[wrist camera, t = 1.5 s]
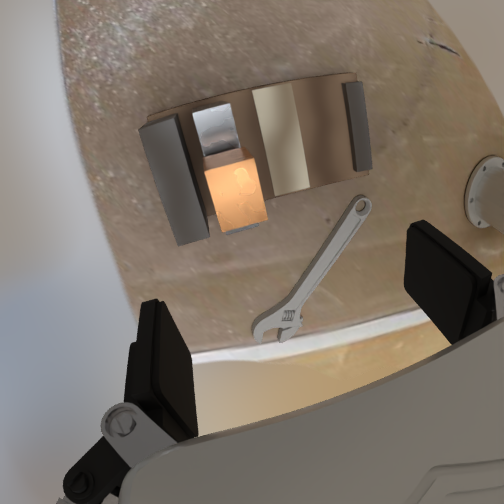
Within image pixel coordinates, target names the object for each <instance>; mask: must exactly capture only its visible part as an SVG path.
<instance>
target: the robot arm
mask: <svg viewBox="0 0 504 504" xmlns="http://www.w3.org/2000/svg"><path fill="white" fill-rule="evenodd" d="M465 211H466V215H467V218H468V219H469V221H470V222H471V223H472V224H473V225H475V226H476V227H478V228H486V227H489V226H492V227H494V228H495V229H497V230H498V231H499V232H501V233H502V234H504V159H502V158H500V157H498V156H489V157H487V158H485V159H483V160H482V161H481V162H480V163H479V164H478V165H477V167H476V168H475V170H474V171H473V173H472V175H471V177H470V179H469V182H468V185H467V189H466V193H465ZM491 276H492V273H491V272H490V271H489V270H488V269H487V268H486V267H484V266H483V265H482V264H481V263H480V262H478V261H477V260H476V259H475V258H474V257H472V256H471V255H470V254H469V253H467V252H466V251H465V250H464V249H462V248H461V247H460V246H459V245H457V244H456V243H455V242H453V241H452V240H451V239H450V238H448V237H447V236H446V235H444V234H443V233H442V232H440V231H439V230H438V229H436V228H435V227H434V226H432V225H431V224H430V223H428V222H427V221H425V220H420V221H417V222H414V223H412V224H410V227H409V228H408V229H407V240H406V259H405V274H404V287H405V290H406V291H407V293H408V294H409V295H410V296H411V297H412V298H413V300H414V301H415V302H416V303H417V304H418V305H419V306H420V308H421V309H422V310H423V311H424V312H425V313H426V315H427V316H428V317H429V318H430V319H431V320H432V322H433V323H434V324H435V325H436V326H437V328H438V329H439V330H440V331H441V332H442V334H443V335H444V336H445V337H446V339H447V340H448V341H449V342H450V343H451V344H452V345H451V346H449V347H447V348H445V349H443V350H441V351H440V352H438V353H436V354H434V355H432V356H430V357H428V358H426V359H423V360H421V361H419V362H417V363H415V364H413V365H411V366H409V367H407V368H404V369H402V370H400V371H398V372H396V373H393V374H391V375H389V376H387V377H384V378H382V379H380V380H377V381H375V382H372V383H370V384H367V385H366V386H363V387H360V388H358V389H355V390H353V391H350V392H347V393H344V394H342V395H339V396H336V397H334V398H331V399H328V400H325V401H322V402H320V403H317V404H314V405H311V406H308V407H305V408H302V409H298V410H296V411H292V412H289V413H286V414H282V415H279V416H276V417H272V418H268V419H265V420H261V421H258V422H255V423H251V424H247V425H243V426H239V427H236V428H232V429H227V430H223V431H219V432H215V433H211V434H208V435H204V436H200V437H198V424H197V414H196V404H195V393H194V381H193V368H192V358H191V354H190V351H189V349H188V347H187V346H186V344H185V342H184V340H183V338H182V336H181V334H180V332H179V330H178V328H177V326H176V324H175V322H174V320H173V318H172V316H171V314H170V312H169V310H168V308H167V306H166V304H165V302H164V301H161V302H159V300H158V299H153V300H149V301H146V302H142V304H141V309H140V316H139V324H138V332H137V340H136V342H133V343H131V345H130V349H129V357H128V365H127V375H126V383H125V394H124V403H119V404H117V405H114V406H113V407H111V408H110V409H109V410H108V411H107V412H106V413H105V415H104V416H103V418H102V421H101V432H102V434H103V435H104V436H103V437H102V438H101V439H100V440H99V441H98V442H97V443H96V444H95V445H94V446H93V447H92V448H91V449H90V450H89V451H88V452H87V453H86V454H85V455H84V456H83V457H82V458H81V459H80V460H79V461H78V462H77V463H76V464H75V465H74V466H73V467H72V468H71V469H70V470H69V471H68V472H67V474H66V475H65V477H64V480H63V489H64V493H65V496H64V498H63V499H61V498H59V499H58V501H57V503H56V504H504V274H502V275H499V276H497V277H496V278H495V280H494V281H493V280H492V279H491ZM194 437H196V438H194Z"/></svg>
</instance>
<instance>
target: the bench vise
mask: <svg viewBox="0 0 504 504" xmlns="http://www.w3.org/2000/svg"><path fill="white" fill-rule="evenodd" d="M219 101H226V102H228V103H230V106H231V110H232V114H233V118H234V122H235V126H236V130H237V134H238V139H239V143H240V147H245V148H246V149H247V150H248V151H249V152H250V154H251V155H252V156H253V157H254V159H255V164H256V168H257V173H258V177H259V182H260V186H261V191H262V195H263V200H264V201H265V200H268V199H272V198H276V197H280V196H284V195H287V194H291V193H295V192H299V191H303V190H307V189H311V188H315V187H319V186H323V185H327V184H331V183H336V182H340V181H344V180H348V179H352V178H357V177H361V176H365V175H369V170H370V169H372V157H371V147H370V137H369V128H368V120H367V112H366V105H365V98H364V91H363V84H362V82H359V81H357V75H356V73H340V74H331V75H323V76H316V77H309V78H302V79H296V80H290V81H284V82H278V83H273V84H267V85H262V86H257V87H252V88H248V89H243V90H239V91H234V92H230V93H226V94H222V95H218V96H214V97H210V98H206V99H202V100H199V101H195V102H192V103H188V104H185V105H181V106H178V107H175V108H171V109H168V110H165V111H162V112H159V113H156V114H153V115H150V116H148V117H147V120H148V122H147V123H146V124H145V125H144V126H142V127H141V128H140V129H139V130H138V131H139V134H140V137H141V140H142V143H143V147H144V150H145V153H146V156H147V159H148V162H149V165H150V168H151V171H152V174H153V177H154V180H155V183H156V186H157V189H158V192H159V195H160V198H161V200H162V203H163V206H164V209H165V212H166V215H167V217H168V220H169V223H170V226H171V228H172V231H173V234H174V237H175V239H176V242H177V245H178V246H181V245H184V244H188V243H191V242H195V241H198V240H202V239H205V238H209V237H210V235H209V227H208V219H207V216H210V215H214V214H216V210H215V207H214V203H213V200H212V196H211V193H210V189H209V186H208V183H207V179H206V176H205V172H204V166H203V158H204V154H203V151H202V147H201V144H200V140H199V136H198V133H197V129H196V125H195V122H194V118H193V114H192V109H193V108H196V107H200V106H203V105H207V104H211V103H215V102H219Z"/></svg>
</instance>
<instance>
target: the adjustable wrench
mask: <svg viewBox="0 0 504 504" xmlns="http://www.w3.org/2000/svg"><path fill="white" fill-rule="evenodd" d="M360 200H364V201H365V202H366V205H365V208H364V209H363V210H362V211H360V212H358V211H356V210H355V207H356V205H357V203H358V202H359V201H360ZM371 208H372V204H371V201H370V200H369V199H368V198H366V197H365V196H362V195H359V196H356V197H355V198H354V199H353V200H352V201H351V203H350V204H349V206H348V208H347V209H346V211H345V212H344V214H343V215H342V217H341V218H340V220H339V221H338V223H337V225H336V226H335V228H334V229H333V231H332V232H331V234H330V235H329V237H328V238H327V240H326V241H325V243H324V244H323V246H322V247H321V249H320V250H319V252H318V253H317V255H316V256H315V258H314V259H313V260H312V262H311V263H310V265H309V266H308V268H307V269H306V271H305V272H304V274H303V275H302V277H301V278H300V279H299V281H298V282H297V284H296V285H295V287H294V288H293V290H292V291H291V292H290V294H289V295H288V296H287V297H286V298H285V299H284V300H282V301H281V302H280V303H278V304H277V305H276V306H274V307H273V308H271V309H269V310H268V311H266V312H264V313H263V314H261V315H259V316H258V317H257V318H256V319H255V321H254V322H253V325H252V331H253V335H254V338H255V340H256V341H257V343H261V342H262V337H263V332H265V331H267V330H269V329H271V328H280V329H279V333H278V337H277V338H278V340H279V343H283V342H285V341H286V340H288V339H289V338H291V337H292V336H293V335H294V334H295V333H296V331H297V330H298V329H299V327H302V323H301V322H302V321H303V317H300V311H301V308H302V306H303V304H304V303H305V301H306V300H307V299H308V297H309V296H310V295H311V293H312V292H313V291H314V289H315V288H316V287H317V285H318V284H319V283H320V281H321V280H322V279H323V277H324V276H325V275H326V273H327V272H328V271H329V269H330V268H331V267H332V265H333V264H334V262H335V261H336V260H337V258H338V257H339V256H340V254H341V253H342V251H343V250H344V249H345V247H346V246H347V244H348V243H349V242H350V240H351V239H352V237H353V236H354V234H355V233H356V232H357V230H358V229H359V227H360V226H361V224H362V223H363V221H364V220H365V219H366V217H367V216H368V214H369V213H370V211H371Z"/></svg>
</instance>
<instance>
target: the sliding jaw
mask: <svg viewBox="0 0 504 504" xmlns="http://www.w3.org/2000/svg"><path fill="white" fill-rule="evenodd" d="M192 114H193V118H194V122H195V125H196V129H197V133H198V136H199V140H200V144H201V147H202V151H203V154H204V158H203V166H204V172H205V176H206V179H207V183H208V186H209V189H210V193H211V196H212V200H213V203H214V207H215V210H216V214H217V217H218V220H219V224H220V227H221V231H222V232H226V235H229V234H232V233H236V232H239V231H243V230H246V229H250V228H254V227H257V226H259V223H258V222H262V221H265V220H268V218H267V213H266V209H265V204H264V200H263V195H262V191H261V186H260V182H259V177H258V173H257V168H256V164H255V159H254V157H253V156H252V155H251V154H250V152H249V151H248V150H247V149H246V148H245V147H240V143H239V139H238V134H237V130H236V126H235V122H234V118H233V114H232V110H231V106H230V103H228V102H226V101H219V102H215V103H211V104H207V105H203V106H200V107H196V108H193V109H192Z"/></svg>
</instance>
